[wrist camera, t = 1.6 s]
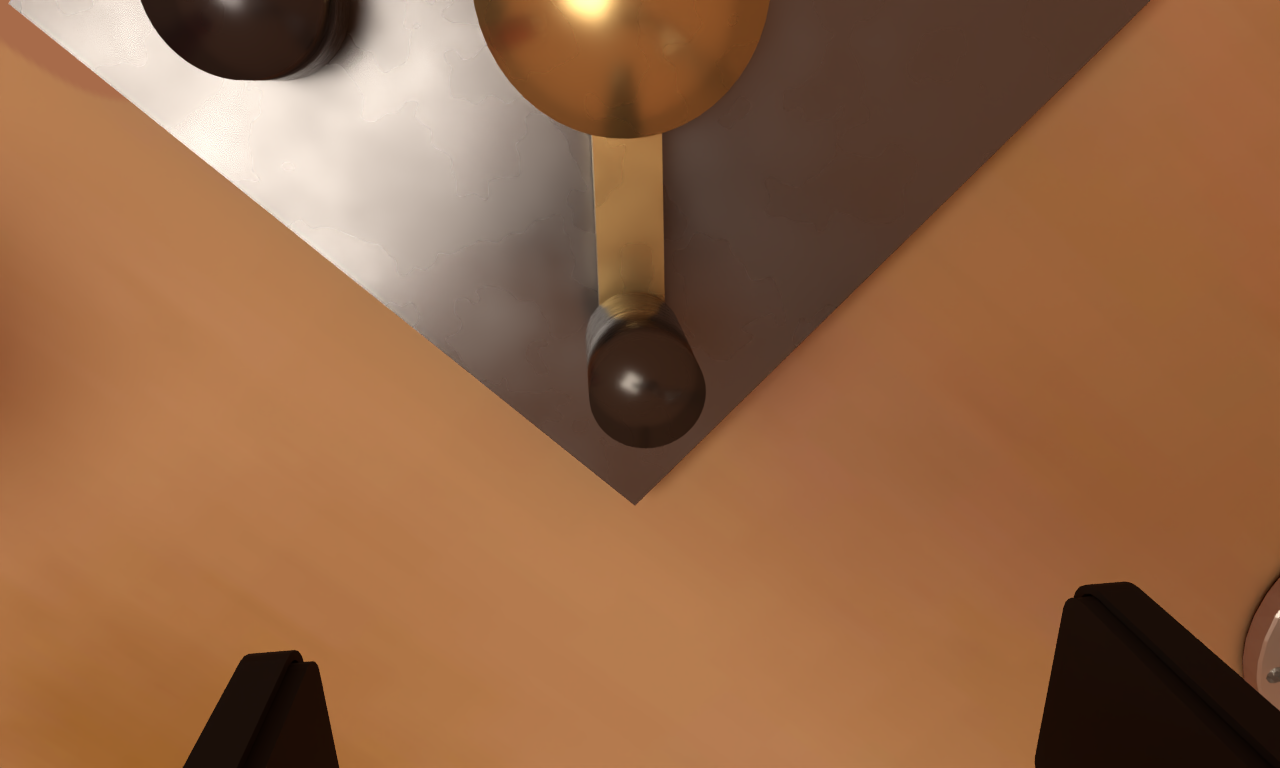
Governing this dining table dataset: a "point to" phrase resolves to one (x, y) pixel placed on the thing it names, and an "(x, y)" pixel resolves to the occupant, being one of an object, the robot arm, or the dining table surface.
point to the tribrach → (588, 168)
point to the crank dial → (628, 170)
